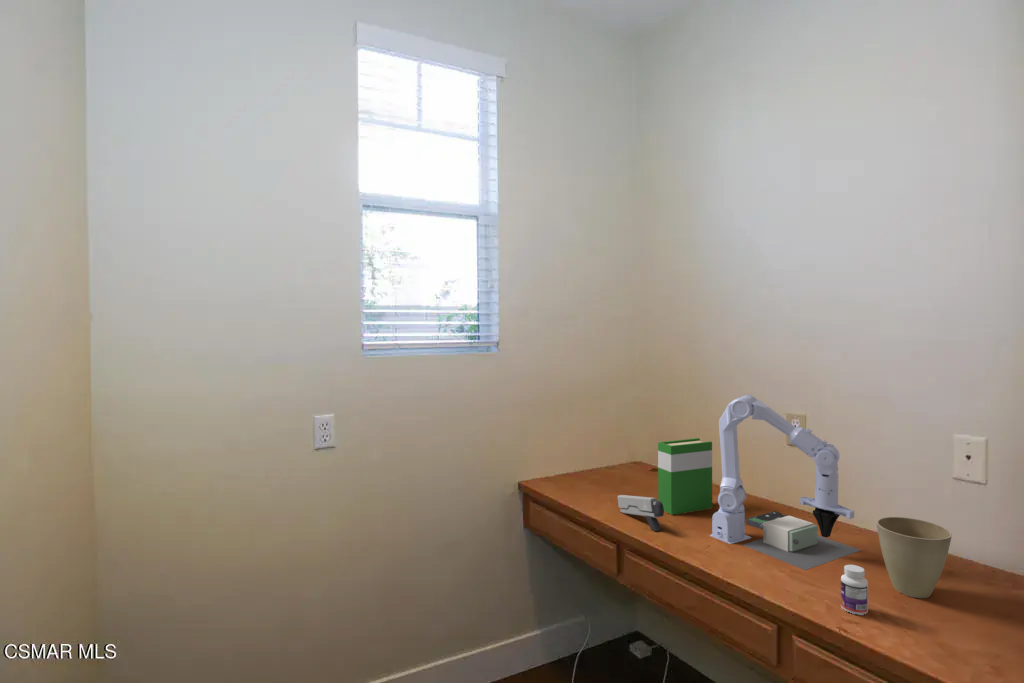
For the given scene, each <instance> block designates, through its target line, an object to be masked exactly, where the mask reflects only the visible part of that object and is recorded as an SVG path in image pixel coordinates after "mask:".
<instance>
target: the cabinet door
mask: <svg viewBox="0 0 1024 683" xmlns="http://www.w3.org/2000/svg"><path fill="white" fill-rule="evenodd" d="M818 527H819V525H816V524H814V525H811V526H808V527H804V528H801V529H797V530H794V531H790V532H789V551H792V552H793V551H796V550H799V549H802V548H806V547H809V546H812V545H815V544H817V543H818V536H819V534H818V529H819V528H818Z"/></svg>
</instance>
